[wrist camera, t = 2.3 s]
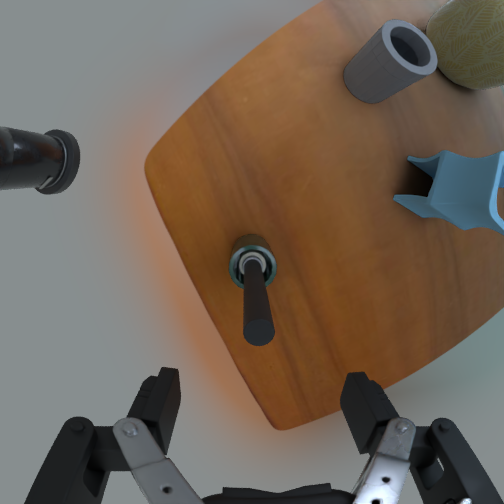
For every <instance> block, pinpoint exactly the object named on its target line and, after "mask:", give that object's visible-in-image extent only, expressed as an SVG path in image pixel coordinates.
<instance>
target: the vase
mask: <svg viewBox="0 0 504 504" xmlns="http://www.w3.org/2000/svg"><path fill="white" fill-rule="evenodd" d="M425 35H426V37H427V38H428V39H429V40H430V42H431V43H432V45H433V47H434V49H435V52H436V55H437V60H438V61H437V67H438V68H439V69H440V70H441V72H442V73H443V74H444V75H445V76H446V77H447V78H449V79H450V80H451V81H453V82H454V83H456V84H458V85H460V86H463V87H466V88H470V89H474V90H486V89H490V88H494V87H498V86H502V85H504V0H450V1H449V2H447V3H446V4H444V5H443V6H442V7H441V8H440V9H438V10H437V11H436V12H435V13H434V14H433V15H432V16H431V18H430V19H429V21H428V23H427V27H426V33H425Z"/></svg>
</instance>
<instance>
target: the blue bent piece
mask: <svg viewBox="0 0 504 504" xmlns="http://www.w3.org/2000/svg"><path fill="white" fill-rule="evenodd" d="M407 160H408V161H410V162H411V163H413V164H414V165H416V166H417V167H418V168H420V169H421V170H423V171H424V172H426V173H427V174H428V175H430V176H431V177H432V179H433V184H432V187H431V189H430V191H429V194H428V197H423V196H418V195H394V198H393V200H394V201H396V202H398V203H399V204H401V205H403V206H404V207H406V208H408V209H409V210H411V211H412V212H414V213H416V214H417V215H419V216H421V217H423V218H428V217H437V218H441V219H444V220H446V221H448V222H450V223H452V224H454V225H455V226H457V227H458V228H460V229H462V230H468V229H471V228H475V227H486V228H490V229H492V230H495V231H497V232H499V233H501V234H502V235H504V221H503V220H502V219H501V218H500V217H499V215H498V213H497V203H496V198H497V191H498V187H501V188H504V151H500V152H498V153H495V154H493V155H490V156H486V157H482V158H468V157H464V156H460V155H457V154H455V153H452V152H450V151H448V150H443V151H441V152H439V153H438V154H436V155H434V156H432V157H429V158H416V157H412V156H408V158H407Z"/></svg>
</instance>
